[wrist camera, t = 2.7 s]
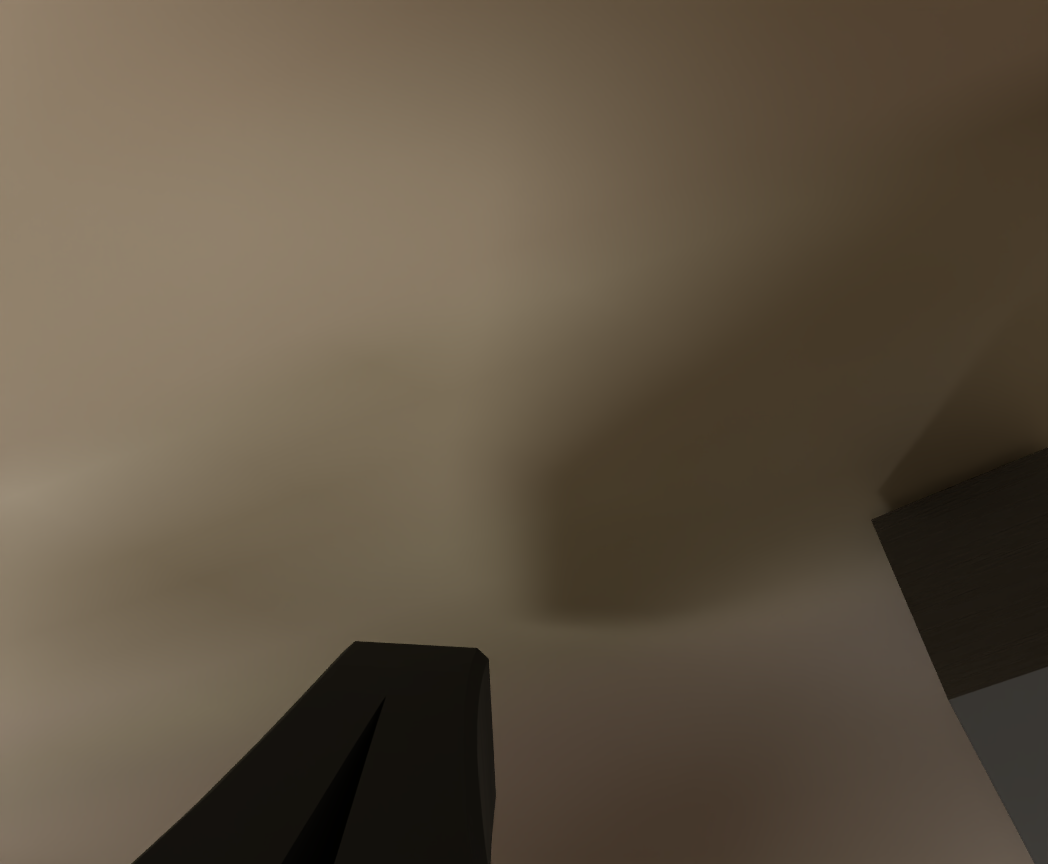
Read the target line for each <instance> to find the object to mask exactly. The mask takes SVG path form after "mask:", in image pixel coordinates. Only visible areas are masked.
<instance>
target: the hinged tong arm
mask: <svg viewBox="0 0 1048 864" xmlns="http://www.w3.org/2000/svg"><path fill="white" fill-rule="evenodd" d="M872 523H873V525H874V527H875V530H876V532H877V534H878V537H879V539H880V541H881V544H882V546H883V549H884V551H885V553H886V556H887V558H888V560H889V563H890V565H891V567H892V570H893V572H894V574H895V577H896V579H897V581H898V584H899V586H900V588H901V591H902V593H903V595H904V598H905V600H906V602H907V605H908V607H909V609H910V612H911V614H912V616H913V619H914V621H915V623H916V626H917V628H918V630H919V633H920V635H921V637H922V640H923V642H924V644H925V647H926V649H927V651H928V654H929V656H930V658H931V661H932V663H933V665H934V668H935V670H936V672H937V675H938V677H939V679H940V682H941V684H942V686H943V689H944V691H945V693H946V696H947V698H948V700H949V702H950V704H951V706H952V708H953V710H954V712H955V714H956V715H957V717H958V719H959V721H960V723H961V725H962V727H963V729H964V731H965V732H966V734H967V736H968V738H969V740H970V742H971V744H972V746H973V748H974V750H975V751H976V753H977V755H978V757H979V759H980V761H981V763H982V765H983V767H984V769H985V770H986V772H987V774H988V776H989V778H990V780H991V782H992V784H993V786H994V787H995V789H996V791H997V793H998V795H999V797H1000V799H1001V801H1002V803H1003V805H1004V806H1005V808H1006V810H1007V812H1008V814H1009V816H1010V818H1011V820H1012V822H1013V824H1014V825H1015V827H1016V829H1017V831H1018V833H1019V835H1020V837H1021V839H1022V841H1023V843H1024V844H1025V846H1026V848H1027V850H1028V852H1029V854H1030V856H1031V858H1032V860H1033V861H1034V863H1035V864H1048V448H1046V449H1043V450H1041V451H1038V452H1036V453H1034V454H1031V455H1029V456H1026V457H1024V458H1021V459H1019V460H1016V461H1014V462H1012V463H1009V464H1007V465H1004V466H1002V467H999V468H997V469H994V470H992V471H990V472H987V473H985V474H982V475H980V476H977V477H975V478H972V479H970V480H967V481H965V482H963V483H960V484H958V485H955V486H953V487H950V488H948V489H945V490H943V491H941V492H938V493H936V494H933V495H931V496H928V497H926V498H923V499H921V500H919V501H916V502H914V503H911V504H909V505H906V506H904V507H901V508H899V509H896V510H894V511H892V512H889V513H887V514H884V515H882V516H879V517H877V518H874V519H872Z"/></svg>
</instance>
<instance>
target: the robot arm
mask: <svg viewBox="0 0 1048 864" xmlns="http://www.w3.org/2000/svg"><path fill="white" fill-rule="evenodd" d="M495 799H496V788H495V769H494V750H493V731H492V712H491V693H490V674H489V659H488V658H487V657H486V656H485V655H484V654H483V653H482V652H481V651H480V650H479V649H478V648H467V647H449V646H431V645H413V644H395V643H377V642H359V641H355V642H354V643H353V644H351V645H350V646H349V647H348V648H347V649H346V650H345V651H344V652H343V653H342V654H341V655H340V656H339V657H338V658H337V659H336V660H335V661H334V662H333V663H332V664H331V665H330V667H329V668H328V669H327V670H326V671H325V672H324V673H323V674H322V675H321V676H320V677H319V678H318V679H317V680H316V682H315V683H314V684H313V685H312V686H311V687H310V688H309V689H308V690H307V691H306V692H305V693H304V694H303V695H302V697H301V698H300V699H299V700H298V701H297V702H296V703H295V704H294V705H293V706H292V707H291V708H290V709H289V710H288V711H287V712H286V713H285V715H284V716H283V717H282V718H281V719H280V720H279V721H278V722H277V723H276V724H275V725H274V726H273V727H272V728H271V729H270V730H269V731H268V732H267V733H266V734H265V735H264V736H263V738H262V739H261V740H260V741H259V742H258V743H257V744H256V745H255V746H254V747H253V748H252V749H251V750H250V751H249V752H248V753H247V754H246V755H245V756H244V757H243V758H242V759H241V760H240V761H239V762H238V763H237V764H236V765H235V766H234V767H233V768H232V769H231V770H230V771H229V772H228V773H227V774H226V775H225V776H224V777H223V778H222V779H221V780H220V781H219V782H218V783H217V784H216V785H215V786H214V787H213V788H212V789H211V790H210V791H209V792H208V793H207V794H206V795H205V796H204V797H203V798H202V799H201V800H200V801H199V802H198V803H197V804H196V805H194V806H193V807H192V808H191V809H190V810H189V811H188V812H187V813H186V814H185V815H184V816H183V817H182V818H181V819H180V820H179V821H178V822H177V823H175V824H174V825H173V826H172V827H171V828H170V829H169V830H168V831H167V832H166V833H165V834H163V835H162V836H161V837H160V838H159V839H158V840H157V841H156V842H155V843H154V844H153V845H151V846H150V847H149V848H148V849H147V850H146V851H145V852H144V853H143V854H142V855H141V856H139V857H138V858H137V859H136V860H135V861H134V862H133V863H132V864H490V863H491V842H492V829H493V819H494V809H495Z"/></svg>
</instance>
